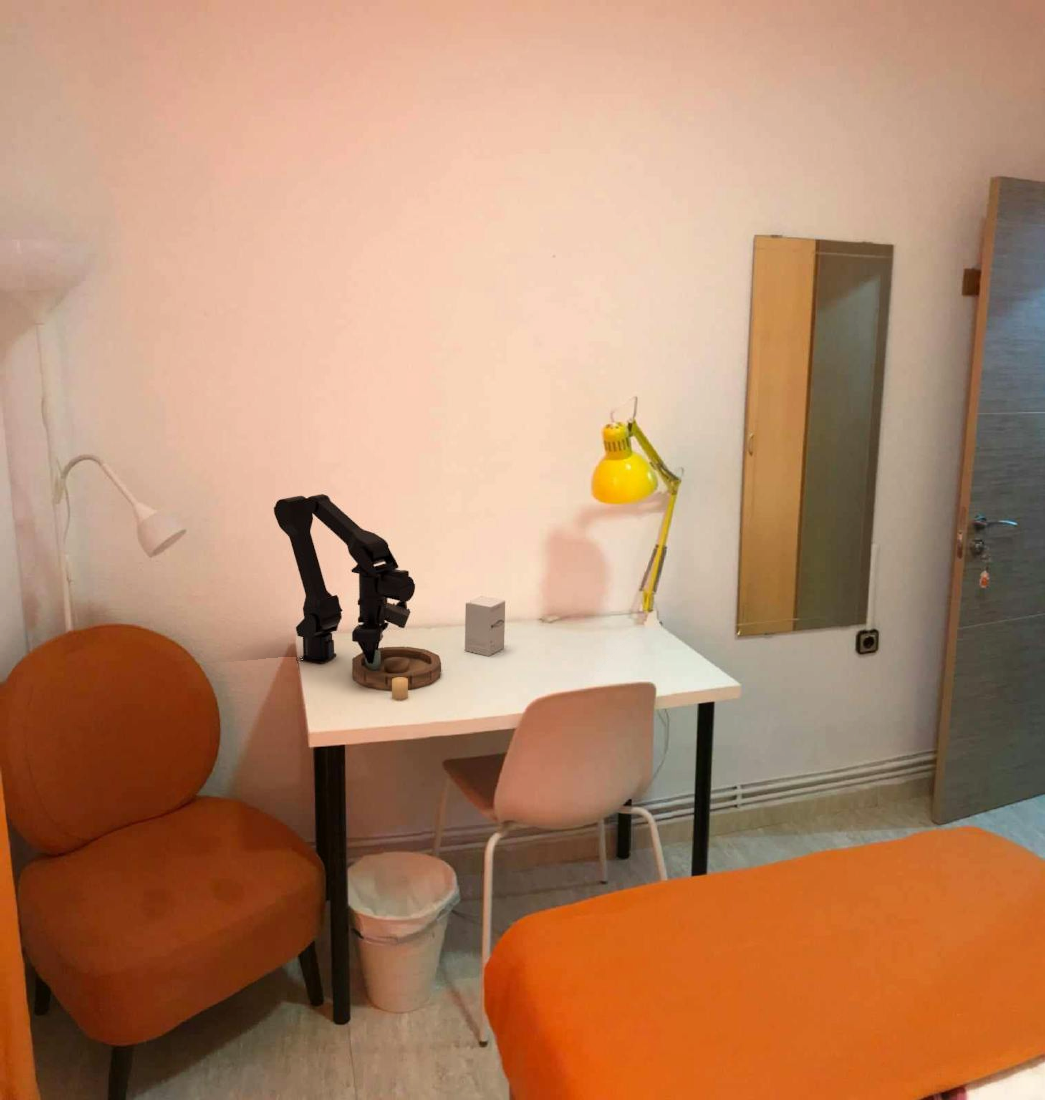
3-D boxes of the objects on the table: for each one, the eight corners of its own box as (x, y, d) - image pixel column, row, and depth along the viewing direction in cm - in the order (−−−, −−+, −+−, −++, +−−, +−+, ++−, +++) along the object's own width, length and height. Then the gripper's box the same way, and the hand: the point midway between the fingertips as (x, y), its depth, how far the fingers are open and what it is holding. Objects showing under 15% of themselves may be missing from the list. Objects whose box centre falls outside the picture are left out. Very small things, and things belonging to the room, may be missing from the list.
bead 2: (389, 698, 214) (389, 681, 213) (396, 693, 217) (396, 676, 216) (403, 701, 213) (403, 683, 212) (410, 695, 216) (410, 678, 215)
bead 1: (379, 671, 227) (379, 654, 226) (364, 671, 227) (364, 654, 226) (381, 666, 230) (381, 649, 229) (366, 665, 230) (366, 649, 229)
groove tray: (336, 682, 223) (335, 668, 222) (378, 654, 241) (378, 642, 240) (416, 695, 216) (416, 682, 215) (454, 666, 234) (454, 653, 234)
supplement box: (489, 657, 242) (489, 607, 239) (463, 651, 245) (464, 602, 242) (505, 648, 248) (506, 600, 245) (480, 643, 251) (481, 595, 248)
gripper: (402, 606, 215) (402, 674, 219) (412, 583, 233) (412, 646, 237) (351, 605, 215) (352, 673, 219) (364, 582, 233) (365, 645, 237)
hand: (372, 659), depth 228 cm, fingers open, 5 cm apart
